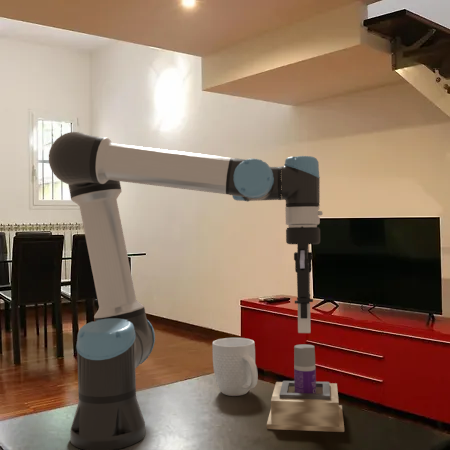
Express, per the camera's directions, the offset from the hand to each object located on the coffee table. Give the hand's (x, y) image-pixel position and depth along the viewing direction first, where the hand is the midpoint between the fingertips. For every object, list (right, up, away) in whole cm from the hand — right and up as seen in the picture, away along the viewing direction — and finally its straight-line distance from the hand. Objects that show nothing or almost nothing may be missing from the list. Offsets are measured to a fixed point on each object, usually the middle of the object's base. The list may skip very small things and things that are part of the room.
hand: (304, 332), depth 124 cm
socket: (0, -19, -1) cm, 19 cm away
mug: (-15, -20, +19) cm, 31 cm away
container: (0, -18, -1) cm, 18 cm away
